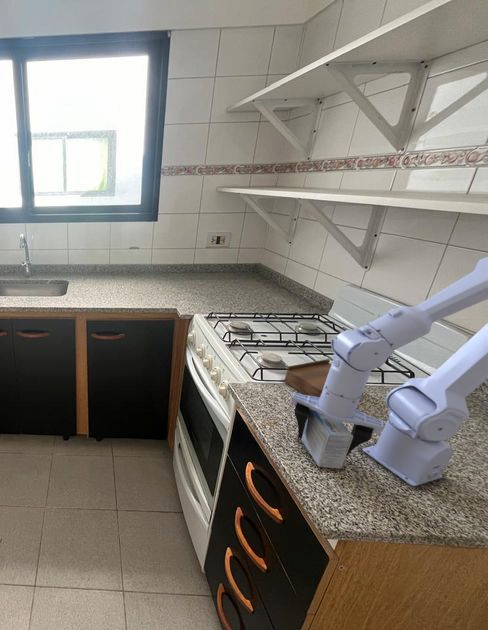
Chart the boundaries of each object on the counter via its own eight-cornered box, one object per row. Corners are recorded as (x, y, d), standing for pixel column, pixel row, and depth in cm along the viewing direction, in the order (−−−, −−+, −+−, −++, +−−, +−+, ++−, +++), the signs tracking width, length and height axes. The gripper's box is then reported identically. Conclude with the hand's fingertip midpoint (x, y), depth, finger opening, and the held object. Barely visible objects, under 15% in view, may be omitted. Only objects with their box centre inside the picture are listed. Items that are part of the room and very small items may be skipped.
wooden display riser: (358, 394, 91) (364, 378, 89) (316, 403, 88) (321, 387, 86) (323, 373, 100) (328, 358, 98) (284, 381, 96) (288, 366, 94)
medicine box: (341, 470, 68) (355, 436, 65) (317, 467, 69) (329, 434, 66) (321, 441, 76) (333, 409, 72) (299, 439, 76) (309, 407, 73)
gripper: (391, 394, 65) (367, 449, 70) (301, 368, 73) (286, 418, 79) (392, 413, 60) (366, 471, 65) (296, 383, 68) (279, 436, 74)
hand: (322, 443), depth 72 cm, fingers closed on medicine box, 7 cm apart
